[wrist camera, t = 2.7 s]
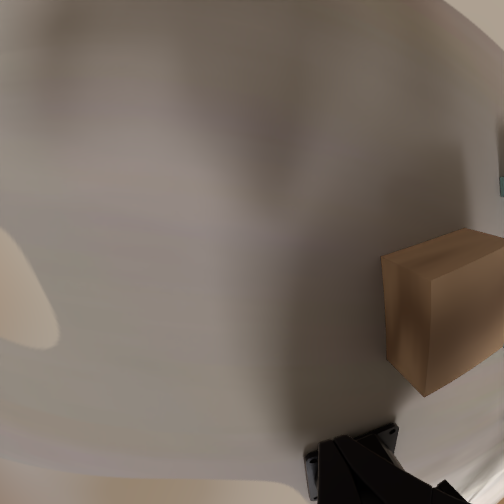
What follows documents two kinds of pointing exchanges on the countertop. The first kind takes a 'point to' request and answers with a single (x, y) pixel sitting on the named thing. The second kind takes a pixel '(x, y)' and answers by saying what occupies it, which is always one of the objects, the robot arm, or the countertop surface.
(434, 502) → the robot arm
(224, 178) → the countertop surface
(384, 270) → the walnut block
